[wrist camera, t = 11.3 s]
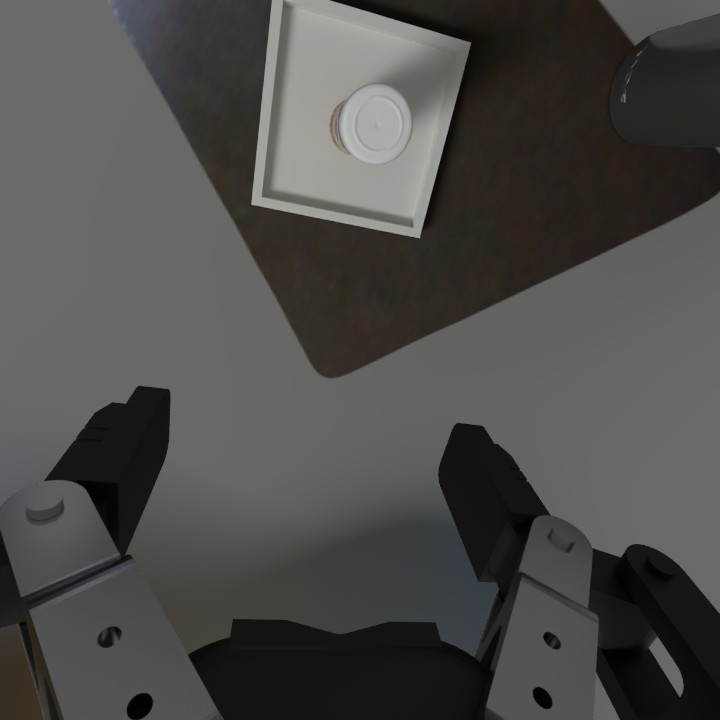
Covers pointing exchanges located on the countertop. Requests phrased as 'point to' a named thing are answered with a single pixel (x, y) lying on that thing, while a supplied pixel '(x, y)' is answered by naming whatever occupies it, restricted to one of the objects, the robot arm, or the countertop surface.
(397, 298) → the countertop surface
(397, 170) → the tray
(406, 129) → the sprinkles bottle
